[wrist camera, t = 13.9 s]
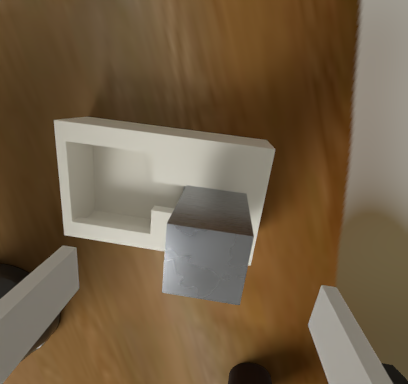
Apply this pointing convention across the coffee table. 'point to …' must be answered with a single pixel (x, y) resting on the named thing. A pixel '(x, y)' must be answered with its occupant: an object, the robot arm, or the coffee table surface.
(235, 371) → the coffee mug
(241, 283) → the t peg
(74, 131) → the white stepped recess tray
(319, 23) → the coffee table surface
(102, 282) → the coffee table surface
